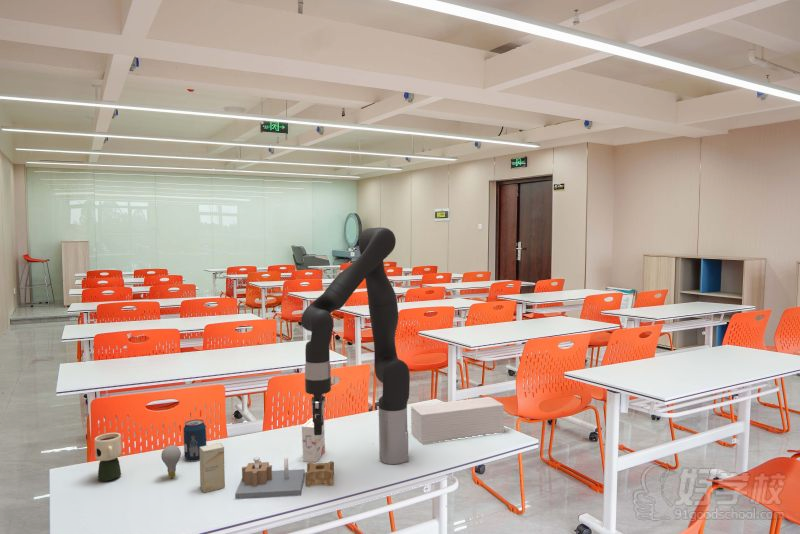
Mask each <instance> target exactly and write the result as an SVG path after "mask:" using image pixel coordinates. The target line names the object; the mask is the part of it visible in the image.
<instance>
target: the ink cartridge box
mask: <svg viewBox="0 0 800 534" xmlns="http://www.w3.org/2000/svg"><path fill="white" fill-rule="evenodd" d="M315 418H316V416H315ZM312 420H313V417H311V418H309V419H308V420H307V421H306V422H305V423H303V425H302V426H301V435H302V436H301V437H302V438H301V439H302V441H301V442H302V461H303V462H306V463H309V462H311V463H318V461H319V460H320V459H321V458H322V456H323V455H324V453H326V446H325V445H326V444H325V443H326V442H325V440H326V438H325V416H324V414H323V425H322V434H321V435H314V423H313V421H312Z"/></svg>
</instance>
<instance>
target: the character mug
mask: <svg viewBox="0 0 800 534" xmlns="http://www.w3.org/2000/svg"><path fill="white" fill-rule="evenodd" d="M121 435H122V434H121V433H119V432H107V433H103V434H100V435H97V436H96V437H94V454H95V455H94V458H95V460H96V461H99V463H98V472H97V478H98V481H100V482H107V481H111V480H113V479H117V478H119V477H121V476H122V472H121V471H122V470H121V465H120V460H119V457H121V456H122V452H123V451H122V450H123V449H122V436H121Z"/></svg>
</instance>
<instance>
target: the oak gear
mask: <svg viewBox="0 0 800 534" xmlns="http://www.w3.org/2000/svg"><path fill="white" fill-rule="evenodd" d="M334 476H335V462H334V461H332V460H331V461H329V462H306V471H305V475H304V480H305V481H304V482H305V483H304V484H305V487H307V488H309V487H312V486H319V485H320V486H323V485H327V486H330V487H332V486H334V484H335V483H334V482H335V480H334Z"/></svg>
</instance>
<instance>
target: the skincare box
mask: <svg viewBox="0 0 800 534" xmlns="http://www.w3.org/2000/svg"><path fill="white" fill-rule="evenodd" d="M199 449H200V460H199V482H200V484H199V485H200V489H201V490H202V492H203V493H208V492H213V491H217V490H222V489H225V488H226V481H225V477H226V474H225V446H224V445H223V444H222V443H221V442H218V443H212V444H208V445H207V444H206V446H202V447H199Z"/></svg>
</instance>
